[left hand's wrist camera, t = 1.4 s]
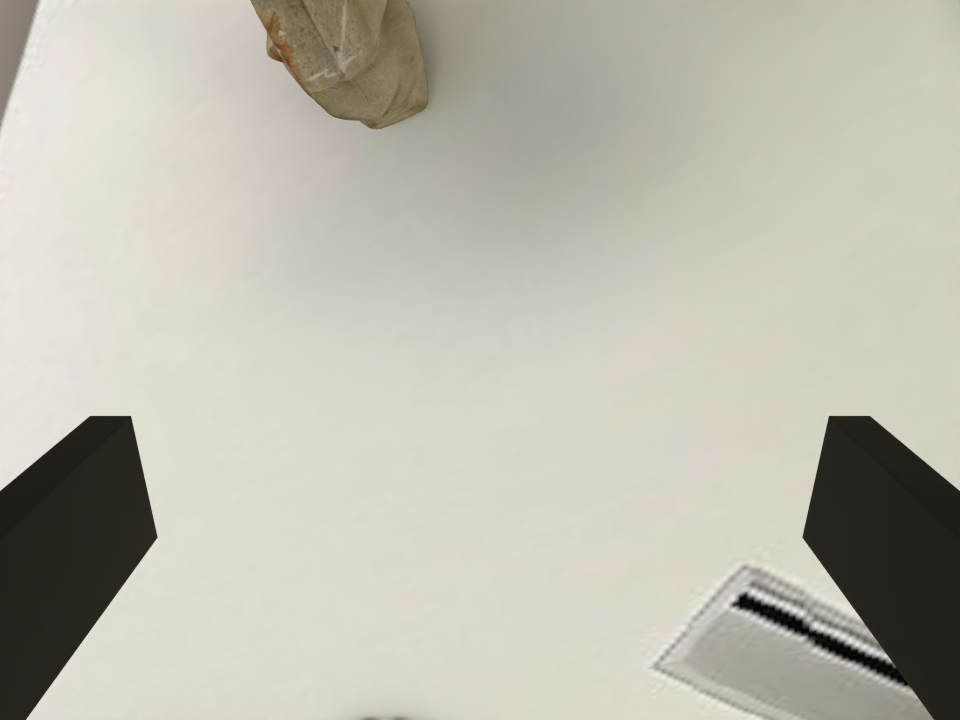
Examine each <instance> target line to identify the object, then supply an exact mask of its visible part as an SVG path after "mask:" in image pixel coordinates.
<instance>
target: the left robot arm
mask: <svg viewBox="0 0 960 720" xmlns="http://www.w3.org/2000/svg"><path fill="white" fill-rule="evenodd" d="M156 539H157V533H156V528H155V524H154V519H153V515H152V510H151V505H150V501H149V496H148V492H147V487H146V483H145V478H144V473H143V469H142V464H141V460H140V455H139V451H138V446H137V441H136V437H135V432H134V428H133V423H132V419H131V416H90V417H88V418H87V419H86V420H85V421H84V422H82V423H81V424H80V425H79V426H78V427H76V428H75V429H74V430H73V431H72V432H70V433H69V434H68V435H67V436H66V437H64V438H63V439H62V440H61V441H60V442H59V443H57V444H56V445H55V446H54V447H53V448H51V449H50V450H49V451H48V452H47V453H45V454H44V455H43V456H42V457H41V458H39V459H38V460H37V461H36V462H35V463H33V464H32V465H31V466H30V467H29V468H27V469H26V470H25V471H24V472H23V473H21V474H20V475H19V476H18V477H17V478H15V479H14V480H13V481H12V482H11V483H9V484H8V485H7V486H6V487H5V488H3V489H2V490H1V491H0V720H26V719H27V717H28V716H29V715H30V713H31V712H32V710H33V709H34V708H35V706H36V705H37V704H38V702H39V701H40V699H41V698H42V697H43V695H44V694H45V692H46V691H47V690H48V688H49V687H50V686H51V684H52V683H53V681H54V680H55V679H56V677H57V676H58V674H59V673H60V672H61V670H62V669H63V668H64V666H65V665H66V663H67V662H68V661H69V659H70V658H71V656H72V655H73V654H74V652H75V651H76V650H77V648H78V647H79V645H80V644H81V643H82V641H83V640H84V638H85V637H86V636H87V634H88V633H89V632H90V630H91V629H92V627H93V626H94V625H95V623H96V622H97V620H98V619H99V618H100V616H101V615H102V614H103V612H104V611H105V609H106V608H107V607H108V605H109V604H110V602H111V601H112V600H113V598H114V597H115V596H116V594H117V593H118V591H119V590H120V589H121V587H122V586H123V584H124V583H125V582H126V580H127V579H128V578H129V576H130V575H131V573H132V572H133V571H134V569H135V568H136V567H137V565H138V564H139V562H140V561H141V560H142V558H143V557H144V555H145V554H146V553H147V551H148V550H149V549H150V547H151V546H152V544H153V543H154V542H155V540H156ZM803 539H804V540H805V542H806V543H807V544H808V546H809V547H810V549H811V550H812V551H813V553H814V554H815V555H816V557H817V558H818V560H819V561H820V562H821V564H822V565H823V567H824V568H825V569H826V571H827V572H828V573H829V575H830V576H831V578H832V579H833V580H834V582H835V583H836V584H837V586H838V587H839V589H840V590H841V591H842V593H843V594H844V596H845V597H846V598H847V600H848V601H849V602H850V604H851V605H852V607H853V608H854V609H855V611H856V612H857V614H858V615H859V616H860V618H861V619H862V620H863V622H864V623H865V625H866V626H867V627H868V629H869V630H870V632H871V633H872V634H873V636H874V637H875V638H876V640H877V641H878V643H879V644H880V645H881V647H882V648H883V650H884V651H885V652H886V654H887V655H888V656H889V658H890V659H891V661H892V662H893V663H894V665H895V666H896V668H897V669H898V670H899V672H900V673H901V674H902V676H903V677H904V679H905V680H906V681H907V683H908V684H909V686H910V687H911V688H912V690H913V691H914V692H915V694H916V695H917V697H918V698H919V699H920V701H921V702H922V704H923V705H924V706H925V708H926V709H927V710H928V712H929V713H930V715H931V716H932V717H933V719H934V720H960V491H959V490H958V489H957V488H955V487H954V486H953V485H952V484H951V483H949V482H948V481H947V480H946V479H945V478H943V477H942V476H941V475H940V474H939V473H937V472H936V471H935V470H934V469H933V468H931V467H930V466H929V465H928V464H927V463H925V462H924V461H923V460H922V459H921V458H919V457H918V456H917V455H916V454H915V453H913V452H912V451H911V450H910V449H909V448H907V447H906V446H905V445H904V444H903V443H901V442H900V441H899V440H898V439H897V438H896V437H894V436H893V435H892V434H891V433H890V432H888V431H887V430H886V429H885V428H884V427H882V426H881V425H880V424H879V423H878V422H876V421H875V420H874V419H873V418H872V417H870V416H829V419H828V423H827V428H826V432H825V437H824V441H823V446H822V451H821V455H820V460H819V464H818V469H817V473H816V478H815V483H814V487H813V492H812V496H811V501H810V505H809V510H808V515H807V519H806V524H805V528H804V533H803Z"/></svg>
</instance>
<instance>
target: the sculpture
mask: <svg viewBox="0 0 960 720" xmlns="http://www.w3.org/2000/svg"><path fill="white" fill-rule="evenodd" d="M250 1H251V2H252V4H253V6H254V9H255V11H256V13H257V15H258V17H259V18H260V20H261V22H262V24H263V25H264V27H265V29H266V31H267V54H268V56H269V57H270V58H272V59H274V60H277V61H280V62H283V63H284V65H285V67H286V68H287V70H288V71H289V72H290V74H291V75H292V76H293V78H294V79H295V80H296V81H297V82H298V84H299V85H300V86H301V87H302V89H303V90H304V91H305V92H306V93H307V94H308V95H309V96H310V97H312V98H313V99H314V100H315V101H316V102H317V103H318V104H319V105H320V106H321V107H322V108H323V109H324V110H325V111H326V112H327V113H329V114H330V115H332V116H333V117H336V118H340V119H345V120H359V121H361V122H362V123H363V124H364V125H366V126H367V127H369V128H372V129H381V128H384V127H387V126H389V125H392V124H395V123H397V122H400V121H402V120H404V119H406V118H408V117H410V116H412V115H414V114H416V113H418V112H420V111H422V110H423V109H425V107H426V106H427V103H428V88H427V77H426V70H425V67H424V57H423V53H422V48H421V44H420V40H419V37H418V33H417V28H416V23H415V18H414V14H413V11H412V9H411V7H410V5H409V3H408V2H407V0H250Z"/></svg>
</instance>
